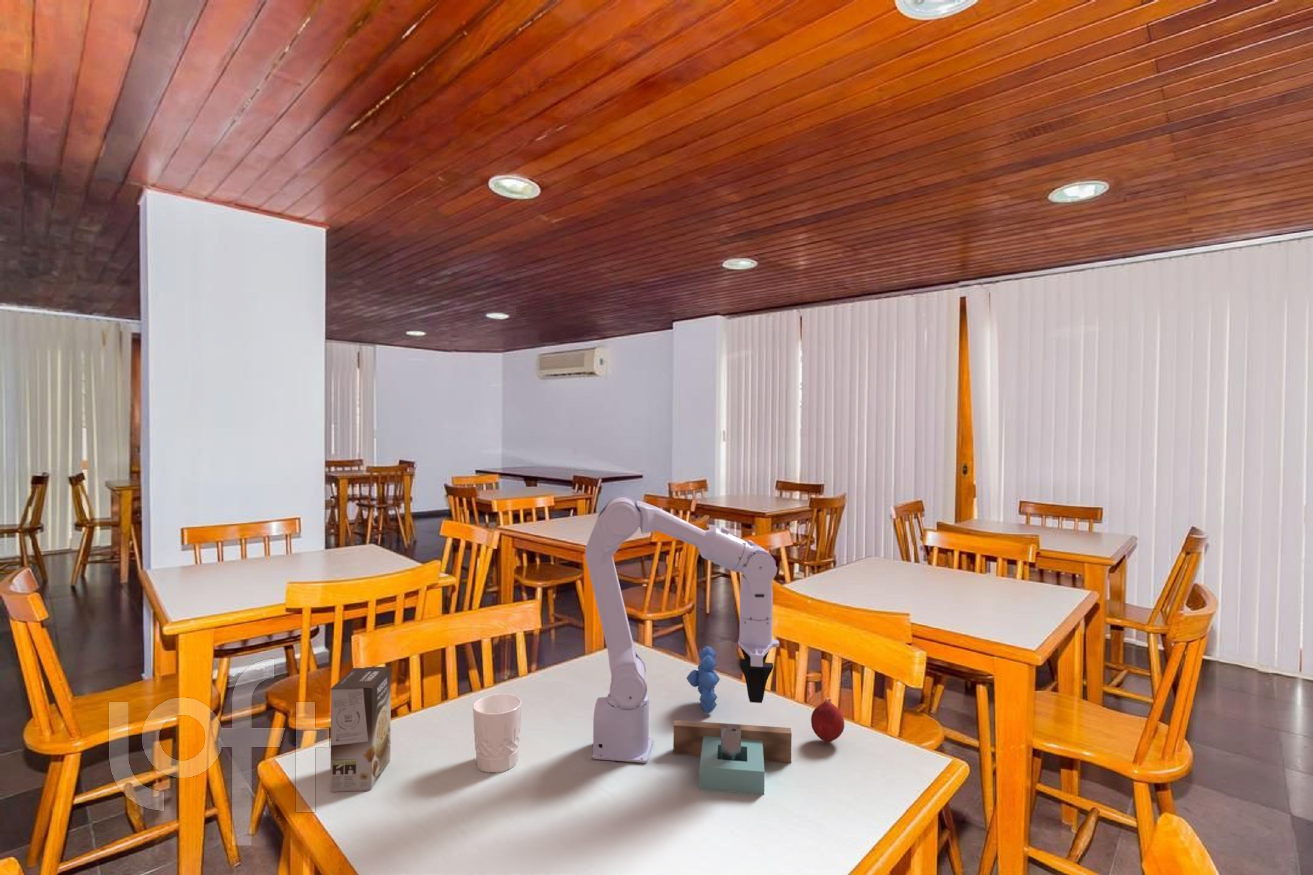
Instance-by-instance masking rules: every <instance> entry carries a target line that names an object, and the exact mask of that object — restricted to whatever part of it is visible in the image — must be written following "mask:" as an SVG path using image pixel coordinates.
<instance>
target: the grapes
mask: <svg viewBox="0 0 1313 875" xmlns="http://www.w3.org/2000/svg"><path fill="white" fill-rule="evenodd" d="M716 656H717V654H716V652H715V650H714V649H713V648H712V647H711V646H710V645H706V646H705V647H704V648H702V650H701V651H700V653H699V656H698V657H699V658H700V660H701V661H700V663H699V664H698V666H697V669H693V670H691V671H690V672H689V674H688V675H687V677H686V680H687V682H688V683H689V684H690V686H692V687H693V688H697V691H698V693H699V694H700V695H699V696H700V697H699V699H698V700H699V701H700V703H699V705H700V707H701V708H702V710H703V711H704V712H705V713H706V714H711V713H712V712H713V711H714V710H715V708H716V707H717V703H716V701H717V698H718V696H717V694H716V693H715V688H716V686H717V685H718V683H719V682H720V681H721V678H720V676H719V675H718V674H717V672H715V671H716V666H717V665H718V663H717V662H716V660H715V658H716Z"/></svg>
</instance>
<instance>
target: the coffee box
mask: <svg viewBox="0 0 1313 875" xmlns="http://www.w3.org/2000/svg"><path fill="white" fill-rule="evenodd" d="M391 673H392V666H366V667H354V668H352V669H351V670H350V671H349V672H347V674H345V675H344V676H343V677H342V678H341V679H339V681H337V682H336V683H335V684H334V685H332V687H331V688H330V790H329V791H330V792H331V793H333V792H334V793H335V792H338V793H339V792H359V791H362V792H363V791H371V790H372V789H373V788H374V786H375V785H376V783H377V781H378V780H379V778H380V777H381V776H382V774H383V773H384V771H385V769H386V768H387V766H388V765H389V763H390V762H391V744H392V742H391V730H392V729H391V728H392V727H391V717H392V716H391V713H392V712H391V710H392V707H391V705H392V702H391V700H392V699H391V698H392V697H391V695H392V694H391V692H392V689H391V688H392V684H391V683H392V681H391V680H392V674H391Z"/></svg>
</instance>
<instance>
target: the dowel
mask: <svg viewBox="0 0 1313 875" xmlns="http://www.w3.org/2000/svg"><path fill="white" fill-rule="evenodd" d="M734 724H735V723H726V725H723V726H722V727H721V760H732V761H741V728H740V727H739V726H737V725H734Z"/></svg>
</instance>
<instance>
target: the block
mask: <svg viewBox="0 0 1313 875" xmlns="http://www.w3.org/2000/svg"><path fill="white" fill-rule="evenodd" d="M699 761H700V762H699V788H698V790H701V791H702V790H703V791H715V792H727V793H728V792H729V793H740V794H741V793H742V794H754V795H763V796H764V795H765V777H766V776H765V761H764V757H763V742H762V740H752V739H741V761H732V760H721V737H712V736H703V743H702V751H701V756H700V760H699Z"/></svg>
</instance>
